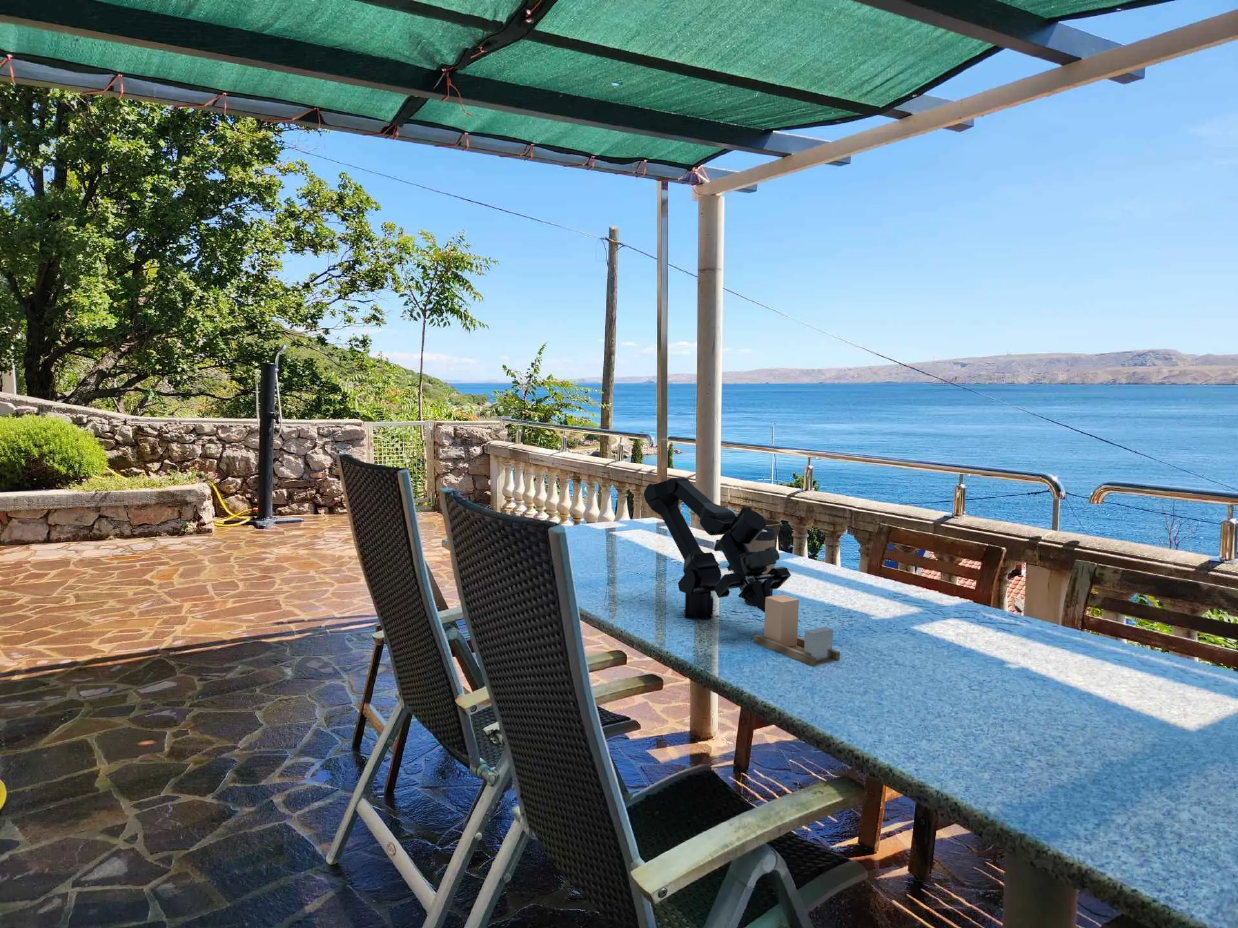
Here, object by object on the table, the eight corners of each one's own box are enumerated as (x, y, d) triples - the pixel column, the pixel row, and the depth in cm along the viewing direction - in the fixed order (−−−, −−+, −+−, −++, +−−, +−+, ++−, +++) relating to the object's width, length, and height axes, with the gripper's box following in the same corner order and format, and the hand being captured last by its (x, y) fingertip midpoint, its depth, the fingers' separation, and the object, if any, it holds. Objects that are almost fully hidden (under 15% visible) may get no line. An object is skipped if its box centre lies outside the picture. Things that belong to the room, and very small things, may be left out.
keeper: (763, 641, 165) (765, 596, 164) (780, 638, 168) (782, 594, 167) (780, 648, 161) (781, 602, 160) (797, 644, 163) (798, 599, 163)
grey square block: (803, 664, 154) (805, 630, 154) (824, 659, 158) (825, 626, 157) (810, 667, 153) (812, 633, 152) (831, 662, 156) (833, 629, 155)
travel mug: (764, 608, 197) (767, 532, 195) (738, 603, 201) (741, 529, 200) (777, 602, 203) (780, 529, 201) (751, 597, 207) (754, 525, 206)
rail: (753, 645, 166) (754, 635, 165) (780, 640, 170) (780, 630, 170) (811, 669, 151) (812, 658, 151) (839, 663, 155) (839, 651, 155)
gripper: (724, 538, 165) (757, 599, 156) (786, 532, 175) (820, 589, 166) (700, 567, 172) (731, 627, 164) (761, 559, 182) (793, 615, 174)
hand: (770, 613), depth 167 cm, fingers closed
